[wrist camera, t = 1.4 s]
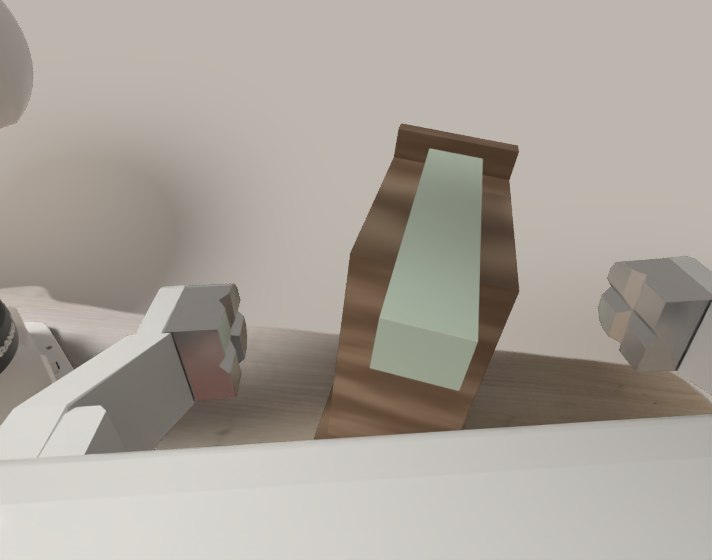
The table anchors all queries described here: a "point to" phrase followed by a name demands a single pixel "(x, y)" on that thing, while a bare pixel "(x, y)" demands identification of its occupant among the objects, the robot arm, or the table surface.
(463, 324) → the batten
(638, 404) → the table surface
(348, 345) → the stand
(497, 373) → the table surface
